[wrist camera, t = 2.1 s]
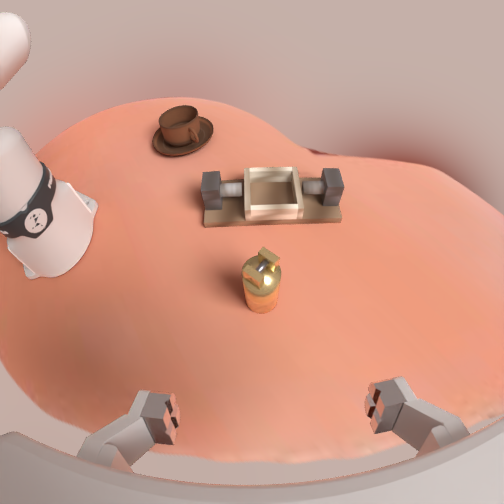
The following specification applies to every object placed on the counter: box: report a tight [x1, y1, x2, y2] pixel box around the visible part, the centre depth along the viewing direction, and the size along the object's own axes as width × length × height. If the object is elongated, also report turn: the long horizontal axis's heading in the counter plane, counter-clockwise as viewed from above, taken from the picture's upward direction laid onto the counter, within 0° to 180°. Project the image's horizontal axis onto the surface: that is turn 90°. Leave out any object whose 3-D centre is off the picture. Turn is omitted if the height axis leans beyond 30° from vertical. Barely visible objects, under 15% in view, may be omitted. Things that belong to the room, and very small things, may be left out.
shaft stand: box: [201, 167, 344, 228], centre depth 41 cm, size 20×8×6 cm, turn 91°
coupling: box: [242, 247, 281, 314], centre depth 32 cm, size 4×4×10 cm
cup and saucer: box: [153, 105, 213, 156], centre depth 49 cm, size 12×12×6 cm
